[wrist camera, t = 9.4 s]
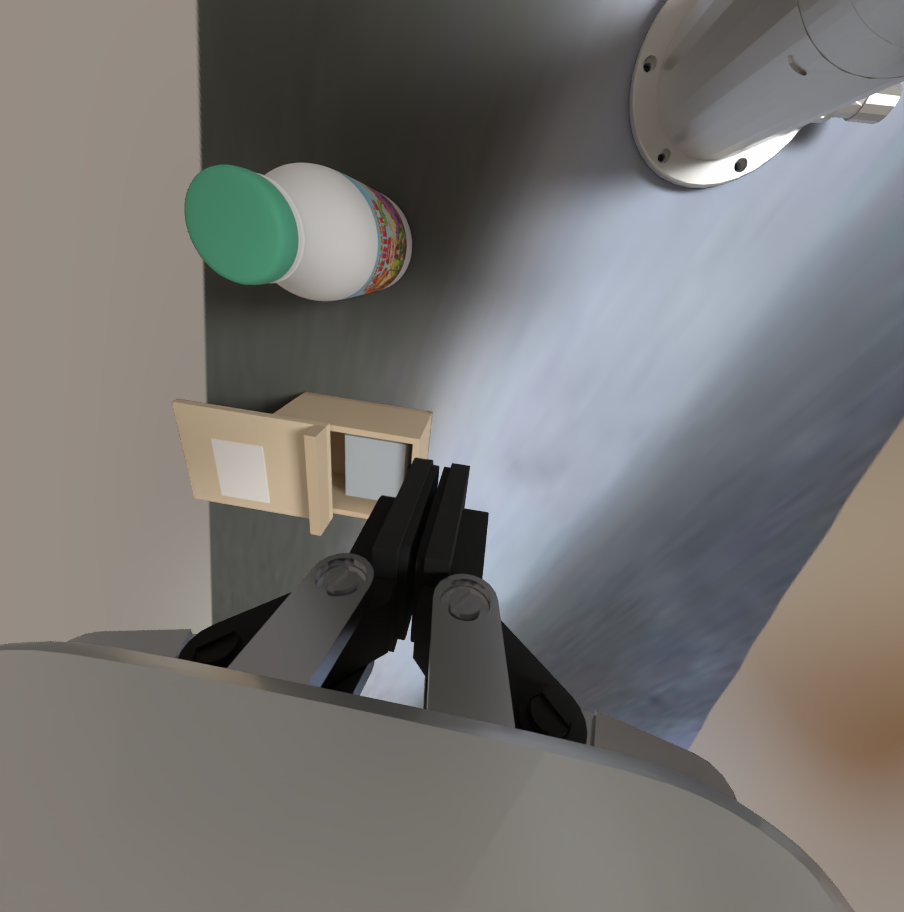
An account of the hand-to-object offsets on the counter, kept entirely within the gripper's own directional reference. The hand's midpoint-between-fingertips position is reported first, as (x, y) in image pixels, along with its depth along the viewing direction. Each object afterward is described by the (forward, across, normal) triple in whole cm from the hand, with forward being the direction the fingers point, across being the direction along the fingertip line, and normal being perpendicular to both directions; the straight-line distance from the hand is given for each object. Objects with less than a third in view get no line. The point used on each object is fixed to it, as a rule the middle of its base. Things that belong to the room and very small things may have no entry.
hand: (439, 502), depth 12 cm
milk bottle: (+28, +12, -6) cm, 31 cm away
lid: (+20, +20, +14) cm, 32 cm away
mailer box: (+28, +12, +14) cm, 33 cm away
